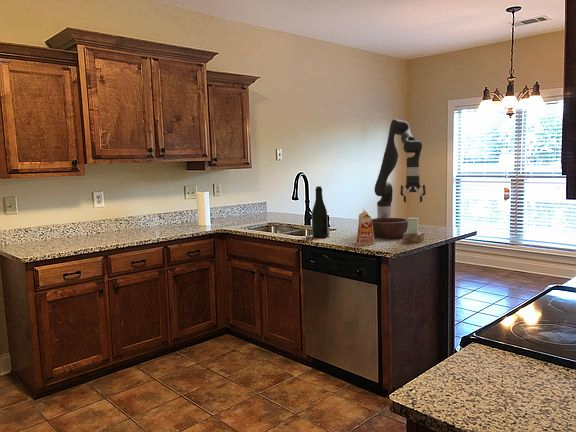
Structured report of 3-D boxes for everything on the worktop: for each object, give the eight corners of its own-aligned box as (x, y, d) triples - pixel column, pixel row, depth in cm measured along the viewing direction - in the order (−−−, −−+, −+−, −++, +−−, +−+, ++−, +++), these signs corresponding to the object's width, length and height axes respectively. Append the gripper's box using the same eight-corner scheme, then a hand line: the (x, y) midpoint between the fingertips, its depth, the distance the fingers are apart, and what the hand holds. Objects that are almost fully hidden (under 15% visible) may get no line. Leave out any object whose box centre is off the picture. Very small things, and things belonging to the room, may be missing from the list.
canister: (407, 233, 284) (407, 218, 283) (408, 232, 289) (408, 217, 288) (417, 233, 282) (417, 218, 281) (418, 232, 287) (418, 217, 286)
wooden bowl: (409, 239, 292) (409, 222, 291) (368, 239, 297) (367, 223, 295) (407, 232, 316) (407, 217, 315) (368, 233, 321) (368, 217, 320)
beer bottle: (315, 235, 319) (313, 185, 316) (330, 235, 316) (328, 185, 312) (310, 238, 310) (308, 186, 306) (325, 238, 306) (324, 186, 302)
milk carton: (356, 242, 287) (355, 209, 285) (371, 241, 288) (370, 208, 285) (359, 245, 278) (358, 211, 276) (375, 244, 279) (374, 210, 276)
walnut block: (403, 242, 284) (403, 234, 283) (407, 239, 292) (407, 231, 292) (420, 243, 279) (420, 234, 278) (424, 240, 288) (424, 232, 287)
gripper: (399, 175, 279) (400, 203, 281) (425, 175, 275) (425, 203, 277) (400, 175, 287) (400, 202, 289) (425, 174, 283) (425, 201, 285)
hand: (412, 202), depth 283 cm, fingers open, 8 cm apart
